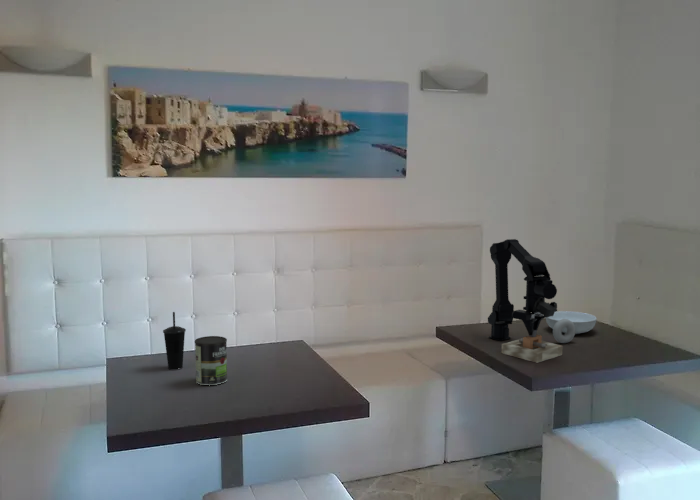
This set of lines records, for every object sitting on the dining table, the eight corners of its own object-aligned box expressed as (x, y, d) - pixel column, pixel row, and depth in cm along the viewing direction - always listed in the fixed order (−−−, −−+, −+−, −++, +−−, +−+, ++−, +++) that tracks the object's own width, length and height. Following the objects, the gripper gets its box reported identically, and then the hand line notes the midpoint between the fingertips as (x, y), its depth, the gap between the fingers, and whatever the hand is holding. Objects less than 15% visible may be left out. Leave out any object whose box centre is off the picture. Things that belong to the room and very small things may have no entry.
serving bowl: (560, 323, 299) (561, 308, 298) (604, 332, 284) (605, 316, 283) (535, 331, 285) (535, 315, 284) (580, 340, 270) (581, 324, 269)
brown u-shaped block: (522, 348, 249) (523, 330, 248) (534, 345, 253) (535, 327, 252) (529, 350, 246) (530, 332, 245) (541, 347, 251) (542, 329, 250)
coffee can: (234, 379, 219) (233, 338, 218) (212, 388, 211) (211, 345, 209) (211, 374, 225) (210, 334, 223) (189, 382, 216) (187, 340, 214)
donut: (571, 341, 269) (572, 317, 267) (576, 343, 265) (577, 319, 264) (550, 343, 266) (551, 318, 264) (555, 345, 262) (556, 320, 261)
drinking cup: (190, 365, 234) (189, 310, 232) (178, 372, 227) (176, 315, 225) (172, 363, 237) (170, 309, 234) (159, 369, 230) (157, 313, 227)
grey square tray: (501, 353, 251) (501, 340, 251) (526, 345, 261) (527, 333, 261) (537, 362, 239) (537, 349, 238) (562, 354, 249) (562, 341, 249)
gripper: (537, 300, 235) (535, 343, 237) (567, 294, 247) (565, 334, 249) (511, 295, 244) (510, 337, 246) (541, 289, 256) (539, 329, 258)
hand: (532, 334), depth 249 cm, fingers closed on brown u-shaped block, 2 cm apart
